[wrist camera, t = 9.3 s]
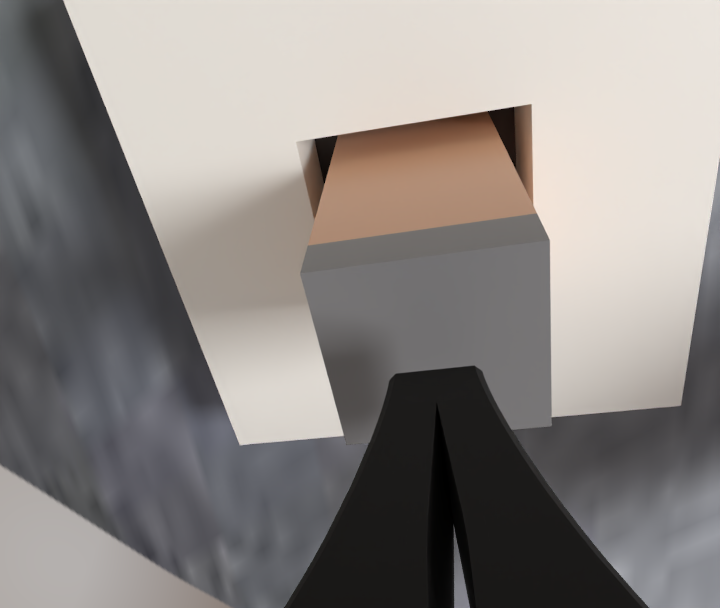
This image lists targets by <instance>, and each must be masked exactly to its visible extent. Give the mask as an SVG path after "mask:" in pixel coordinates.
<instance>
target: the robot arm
mask: <svg viewBox="0 0 720 608" xmlns="http://www.w3.org/2000/svg"><path fill="white" fill-rule="evenodd" d="M453 523H454V527H453ZM454 528H455V533H456V538H457V543H458V549H459V554H460V559H461V564H462V569H463V574H464V579H465V584H466V589H467V594H468V599H469V604H470V608H649V607H648V606H647V605H646V604H645V603H644V602H643V601H642V599H641V598H640V597H639V596H638V595H637V594H636V593H635V592H634V591H633V589H632V588H631V587H630V586H629V585H628V584H627V583H626V581H625V580H624V579H623V578H622V577H621V576H620V575H619V573H618V572H617V571H616V570H615V569H614V568H613V567H612V565H611V564H610V563H609V562H608V561H607V560H606V558H605V557H604V556H603V555H602V554H601V552H600V551H599V550H598V549H597V548H596V546H595V545H594V544H593V543H592V541H591V540H590V539H589V538H588V536H587V535H586V534H585V533H584V531H583V530H582V529H581V528H580V526H579V525H578V524H577V523H576V521H575V520H574V519H573V517H572V516H571V515H570V513H569V512H568V511H567V509H566V508H565V507H564V506H563V504H562V503H561V502H560V500H559V499H558V498H557V496H556V495H555V494H554V492H553V491H552V489H551V488H550V487H549V485H548V484H547V482H546V481H545V480H544V478H543V477H542V475H541V474H540V472H539V471H538V469H537V468H536V466H535V465H534V464H533V462H532V461H531V459H530V458H529V456H528V455H527V453H526V452H525V450H524V449H523V447H522V446H521V444H520V443H519V441H518V439H517V438H516V436H515V435H514V433H513V431H512V430H511V428H510V426H509V425H508V423H507V421H506V419H505V418H504V416H503V414H502V412H501V411H500V409H499V407H498V405H497V403H496V401H495V400H494V398H493V396H492V393H491V391H490V389H489V387H488V385H487V382H486V380H485V378H484V375H483V372H482V370H480V369H479V368H477V367H476V366H475V365H474V366H464V367H454V368H445V369H435V370H425V371H415V372H406V373H396V374H395V375H394V376H393V377H392V378H391V379H390V380H389V384H388V389H387V393H386V396H385V400H384V403H383V406H382V410H381V413H380V416H379V418H378V421H377V424H376V427H375V429H374V432H373V435H372V437H371V440H370V443H369V445H368V447H367V450H366V452H365V454H364V457H363V459H362V462H361V464H360V466H359V469H358V471H357V473H356V476H355V478H354V480H353V482H352V485H351V487H350V489H349V491H348V493H347V495H346V497H345V499H344V501H343V503H342V505H341V507H340V509H339V511H338V513H337V515H336V517H335V519H334V521H333V523H332V525H331V527H330V529H329V531H328V533H327V535H326V537H325V539H324V541H323V542H322V544H321V546H320V548H319V550H318V551H317V553H316V555H315V557H314V559H313V561H312V562H311V564H310V566H309V567H308V569H307V571H306V573H305V574H304V576H303V578H302V579H301V581H300V583H299V584H298V586H297V588H296V589H295V591H294V593H293V594H292V596H291V598H290V599H289V601H288V603H287V604H286V606H285V607H284V608H454Z"/></svg>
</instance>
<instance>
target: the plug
mask: <svg viewBox="0 0 720 608" xmlns="http://www.w3.org/2000/svg"><path fill="white" fill-rule="evenodd" d="M300 276H301V279H302V283H303V287H304V290H305V294H306V298H307V301H308V305H309V309H310V312H311V316H312V320H313V323H314V327H315V331H316V335H317V338H318V342H319V346H320V349H321V353H322V357H323V360H324V364H325V368H326V371H327V375H328V379H329V382H330V386H331V390H332V394H333V397H334V401H335V405H336V408H337V412H338V416H339V419H340V423H341V427H342V430H343V434H344V438H345V441H346V445H351V444H362V443H370V440H371V437H372V435H373V432H374V429H375V427H376V424H377V421H378V418H379V416H380V413H381V410H382V406H383V403H384V400H385V396H386V393H387V389H388V384H389V380H390V379H391V378H392V377H393V376H394V375H395V374H396V373H406V372H415V371H425V370H435V369H445V368H454V367H464V366H474V365H475V366H476V367H477V368H479V369H480V370H482V372H483V375H484V378H485V380H486V382H487V385H488V387H489V389H490V391H491V393H492V396H493V398H494V400H495V401H496V403H497V405H498V407H499V409H500V411H501V412H502V414H503V416H504V418H505V419H506V421H507V423H508V425H509V426H510V428H511V430H516V429H527V428H538V427H549V426H552V398H551V299H550V239H549V237H548V235H547V233H546V231H545V229H544V227H543V225H542V223H541V221H540V219H539V216H538V214H537V212H536V210H535V208H534V206H533V204H532V202H531V200H530V198H529V196H528V194H527V192H526V190H525V188H524V186H523V183H522V181H521V179H520V177H519V175H518V173H517V171H516V169H515V167H514V165H513V163H512V161H511V159H510V157H509V155H508V152H507V150H506V148H505V146H504V144H503V142H502V140H501V138H500V136H499V134H498V132H497V130H496V128H495V126H494V124H493V122H492V119H491V117H490V115H489V113H488V111H485V112H478V113H472V114H466V115H460V116H454V117H447V118H441V119H435V120H429V121H422V122H416V123H410V124H404V125H397V126H391V127H385V128H379V129H372V130H366V131H360V132H354V133H347V134H341V135H338V137H337V141H336V145H335V148H334V152H333V156H332V159H331V163H330V166H329V170H328V174H327V177H326V181H325V185H324V188H323V192H322V195H321V199H320V203H319V206H318V210H317V214H316V217H315V221H314V224H313V228H312V232H311V235H310V239H309V243H308V246H307V250H306V253H305V257H304V261H303V264H302V268H301V272H300Z"/></svg>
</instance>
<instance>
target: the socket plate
mask: <svg viewBox="0 0 720 608" xmlns="http://www.w3.org/2000/svg"><path fill="white" fill-rule="evenodd" d="M63 1H64V4H65V6H66V9H67V11H68V14H69V16H70V19H71V21H72V24H73V26H74V29H75V31H76V34H77V36H78V39H79V41H80V44H81V46H82V49H83V51H84V54H85V56H86V59H87V61H88V64H89V66H90V69H91V72H92V74H93V77H94V79H95V82H96V84H97V87H98V89H99V92H100V94H101V97H102V99H103V102H104V104H105V107H106V109H107V112H108V114H109V117H110V119H111V122H112V124H113V127H114V129H115V132H116V134H117V137H118V139H119V142H120V144H121V147H122V150H123V152H124V155H125V157H126V160H127V162H128V165H129V167H130V170H131V172H132V175H133V177H134V180H135V182H136V185H137V187H138V190H139V192H140V195H141V197H142V200H143V202H144V205H145V207H146V210H147V212H148V215H149V217H150V220H151V222H152V225H153V228H154V230H155V233H156V235H157V238H158V240H159V243H160V245H161V248H162V250H163V253H164V255H165V258H166V260H167V263H168V265H169V268H170V270H171V273H172V275H173V278H174V280H175V283H176V285H177V288H178V290H179V293H180V295H181V298H182V301H183V303H184V306H185V308H186V311H187V313H188V316H189V318H190V321H191V323H192V326H193V328H194V331H195V333H196V336H197V338H198V341H199V343H200V346H201V348H202V351H203V353H204V356H205V358H206V361H207V363H208V366H209V368H210V371H211V373H212V376H213V379H214V381H215V384H216V386H217V389H218V391H219V394H220V396H221V399H222V401H223V404H224V406H225V409H226V411H227V414H228V416H229V419H230V421H231V424H232V426H233V429H234V431H235V434H236V436H237V439H238V441H239V444H240V445H246V444H257V443H268V442H280V441H291V440H302V439H313V438H325V437H336V436H344V434H343V430H342V427H341V423H340V419H339V416H338V412H337V408H336V405H335V401H334V397H333V394H332V390H331V386H330V382H329V379H328V375H327V371H326V368H325V364H324V360H323V357H322V353H321V349H320V346H319V342H318V338H317V335H316V331H315V327H314V323H313V320H312V316H311V312H310V309H309V305H308V301H307V298H306V294H305V290H304V287H303V283H302V279H301V276H300V272H301V268H302V264H303V261H304V257H305V253H306V250H307V246H308V243H309V239H310V235H311V232H312V228H313V224H314V221H315V217H316V214H317V210H318V206H319V203H320V199H321V195H322V192H323V188H324V181H323V177H322V172H321V167H320V163H319V158H318V154H317V149H316V144H315V140H314V139H316V138H322V137H329V136H335V135H341V134H347V133H354V132H360V131H366V130H372V129H379V128H385V127H391V126H397V125H404V124H410V123H416V122H422V121H429V120H435V119H441V118H447V117H454V116H460V115H466V114H472V113H478V112H485V111H491V110H497V109H503V108H510V107H514V120H515V150H516V171H517V173H518V175H519V177H520V179H521V181H522V183H523V186H524V188H525V190H526V192H527V194H528V196H529V198H530V200H531V202H532V204H533V206H534V208H535V210H536V212H537V214H538V216H539V219H540V221H541V223H542V225H543V227H544V229H545V231H546V233H547V235H548V237H549V239H550V299H551V398H552V417H560V416H572V415H583V414H594V413H605V412H617V411H628V410H639V409H650V408H661V407H673V406H681V401H682V395H683V388H684V382H685V375H686V369H687V363H688V356H689V350H690V343H691V337H692V331H693V324H694V318H695V311H696V305H697V299H698V292H699V286H700V279H701V273H702V267H703V260H704V254H705V247H706V241H707V235H708V228H709V222H710V215H711V209H712V203H713V196H714V190H715V183H716V177H717V171H718V164H719V158H720V0H63Z"/></svg>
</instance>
